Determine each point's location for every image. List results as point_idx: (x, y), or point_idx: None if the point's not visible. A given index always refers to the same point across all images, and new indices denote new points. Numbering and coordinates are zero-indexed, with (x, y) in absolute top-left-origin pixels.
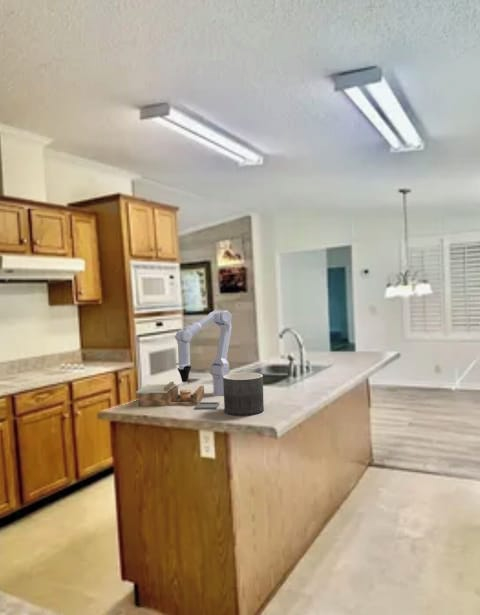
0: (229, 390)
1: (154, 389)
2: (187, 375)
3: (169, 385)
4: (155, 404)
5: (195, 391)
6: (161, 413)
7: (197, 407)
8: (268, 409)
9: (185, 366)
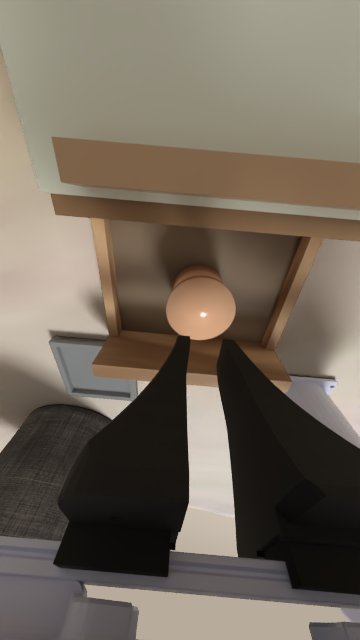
0: None
1: None
2: (226, 412)
3: (184, 193)
4: None
5: (139, 369)
6: None
7: (52, 350)
8: None
9: (254, 572)
